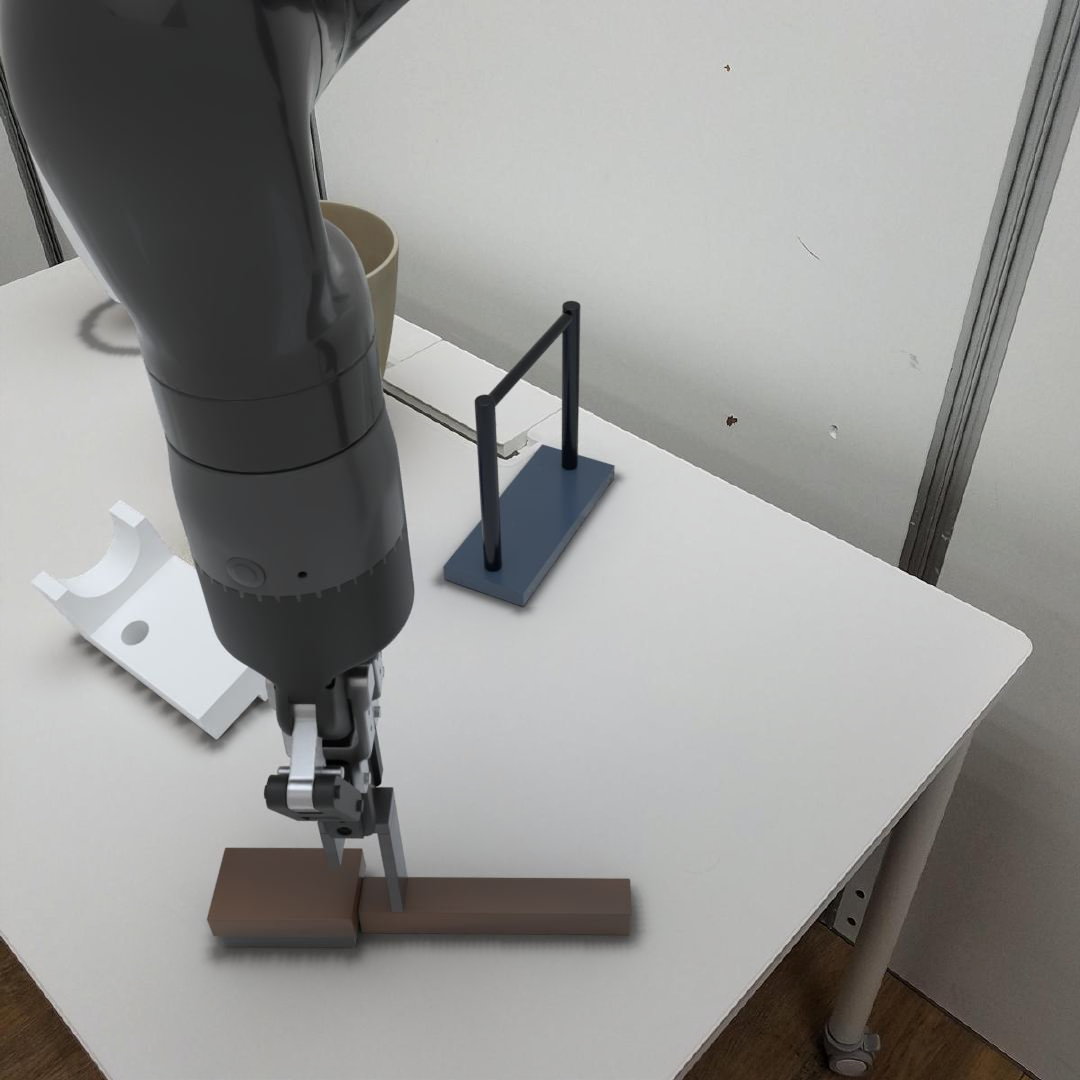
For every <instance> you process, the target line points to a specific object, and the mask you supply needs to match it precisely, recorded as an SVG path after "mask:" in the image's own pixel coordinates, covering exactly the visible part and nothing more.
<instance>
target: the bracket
mask: <svg viewBox="0 0 1080 1080" xmlns="http://www.w3.org/2000/svg"><path fill="white" fill-rule="evenodd" d="M108 512H109V514H110V516H111V518H112V521H113V535H112V536H113V537H112V540H111V542H110V545H109V548H108V549H107V551H106V553H105V554H104V556H103V557H102V558H101V559H100V560H99V562H98V563H97V564H95V565H94V566H93V567H92V568H91V569H89V570H87V571H86V572H84V573H82V574H80V575H78V576H73V577H70V578H59V577H54V576H51V575H49V574H48V573H47V572H46V571H44V570H41V572H40V573H38V574H37V575H36V576H35V578H33V579H32V580H30V583H31V585H32V586H34V587H35V588H36V589H37V591H39V593H40V594H41V595H43V597H44V598H45V599H46V600H47V601H48V602H49V603H50V604H51V605H52V606H53V607H54V608H55V609H56V610H57V611H58V612H59V613H60V614H61V615H62V616H63V617H64V618H65V619H66V620H67V622H68V623H69V624H70V625H71V626H72V627H73V628H74V629H75V630H76V631H77V632H78V633H79V634H80V635H81V637H83V638H84V639H85V641H87V642H89V643H90V644H91V645H93V647H95V648H97V649H98V650H99V651H101V652H102V653H103V654H105V655H106V656H107V657H108V658H110V659H111V661H113V662H115V663H116V664H117V665H118V666H120V667H121V668H123V669H124V670H125V671H126V672H127V673H129V674H130V675H132V676H133V677H134V678H136V679H137V680H138V681H139V682H141V683H142V684H143V685H145V686H146V687H147V688H148V689H150V690H151V691H152V692H154V693H155V694H156V695H158V696H159V697H160V698H161V699H163V700H164V701H166V702H167V703H168V704H169V705H170V706H172V707H173V708H174V709H176V710H177V711H178V712H180V713H181V714H182V715H184V716H185V717H186V718H188V719H189V720H190V721H191V722H193V723H194V724H195V725H196V726H198V727H199V728H201V729H202V730H203V731H204V732H205V733H206V734H209V736H211V737H212V738H213V739H215V740H217V741H218V740H219V738H220V737H221V736H222V735H223V734H224V733H225V732H226V731H227V730H228V728H230V726H232V724H233V723H234V722H235V721H236V720H237V719H238V718H239V717H240V716H241V714H243V712H244V711H245V710H247V708H248V707H249V706H250V705H251V704H252V703H253V701H255V699H256V698H257V697H258V698H259V699H260V700H262V701H263V702H267V700H268V696H267V691H266V684H265V677H264V676H262V675H261V674H259V673H258V672H256V671H254V670H253V669H251V668H249V667H248V666H246V665H244V664H243V663H241V662H240V661H238V660H237V659H236V658H234V657H233V656H232V655H231V654H230V653H229V652H228V651H227V650H226V649H225V648H224V647H223V646H222V644H221V643H220V641H219V639H218V638H217V636H216V634H215V631H214V628H213V625H212V622H211V618H210V615H209V612H208V608H207V605H206V601H205V598H204V595H203V591H202V588H201V584H200V581H199V577H198V574H197V571H196V568H195V566H193V565H190V564H189V563H188V562H186V561H185V560H183V559H181V558H180V556H179V557H178V556H177V555H176V554H174V552H173V551H172V550H171V548H170V547H169V546H168V544H167V543H166V542H165V540H164V539H163V537H162V536H161V535H160V533H159V532H158V531H157V529H156V528H155V526H154V525H152V523H151V521H150V520H149V519H148V518H147V516H146V515H144V514H143V513H141V512H139V511H138V510H137V509H134V508H133V507H132V506H130V505H129V504H127V503H125V502H124V501H123V500H121V499H119V500H118V501H117V502H116V503H114V504H113V505H112V507H110V508H109V509H108Z"/></svg>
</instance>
